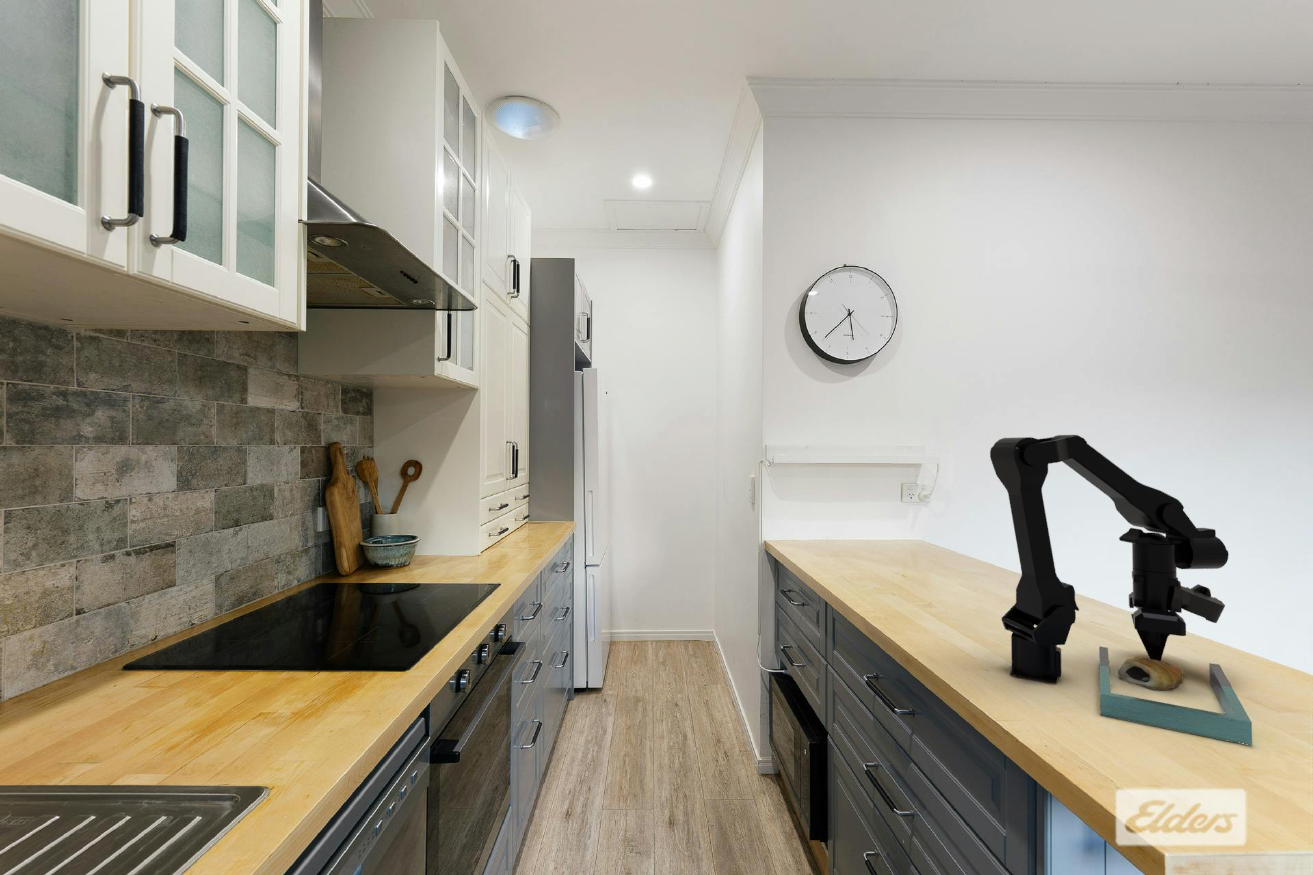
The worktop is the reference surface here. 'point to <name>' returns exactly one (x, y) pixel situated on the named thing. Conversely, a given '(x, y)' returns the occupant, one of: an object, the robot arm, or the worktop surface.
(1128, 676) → the pastry
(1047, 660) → the robot arm
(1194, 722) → the rail pocket
